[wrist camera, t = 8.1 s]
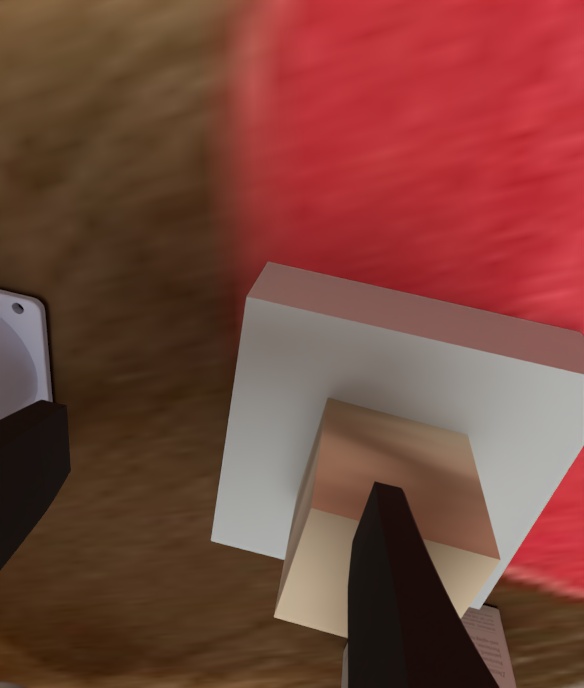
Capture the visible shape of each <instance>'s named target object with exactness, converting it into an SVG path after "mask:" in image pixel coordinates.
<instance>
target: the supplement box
mask: <svg viewBox="0 0 584 688" xmlns="http://www.w3.org/2000/svg"><path fill="white" fill-rule="evenodd" d="M461 621H462V623H463V625H464V627H465V629H466V630H467V632H468V634H469V636H470V638H471V639H472V641H473V643H474V645H475V647H476V648H477V650H478V652H479V654H480V655H481V657H482V659H483V661H484V662H485V664H486V665H487V667H488V669H489V670H490V672H491V674H492V675H493V677H494V679H495V680H496V682H497V684H498V685H499V687H500V688H516V683H515V679H514V675H513V670H512V666H511V661H510V656H509V653H508V648H507V644H506V640H505V636H504V631H503V627H502V623H501V618H500V613H499V610H498V609H496V608H493V607H489V606H485V605H482V606H481V608H480V609H475V608H471V607H468V609H467V610H466V612H465V613H464V615H463V616H462V618H461ZM341 688H348V642H347V645H346V647H345V650H344V653H343V670H342V685H341Z"/></svg>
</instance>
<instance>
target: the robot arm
mask: <svg viewBox="0 0 584 688" xmlns="http://www.w3.org/2000/svg"><path fill="white" fill-rule="evenodd" d="M18 303H19V304H20V305H21V306H22V307H23V309H24V310H23V309H21V308H20V307H19V305H18ZM70 471H71V468H70V452H69V437H68V421H67V406H66V405H62V404H58V403H54V402H53V401H52V388H51V376H50V364H49V352H48V340H47V327H46V315H45V308H44V306H43V304H42V303H41V302H40V301H39V300H38V299H36V298H33V297H29V296H25V295H21V294H17V293H12V292H8V291H4V290H0V570H1V569H2V568H3V566H4V565H5V564H6V562H7V561H8V560H9V559H10V557H11V556H12V555H13V554H14V552H15V551H16V550H17V548H18V547H19V546H20V545H21V543H22V542H23V541H24V539H25V538H26V537H27V536H28V534H29V533H30V532H31V530H32V529H33V528H34V527H35V525H36V524H37V523H38V521H39V520H40V519H41V517H42V516H43V515H44V513H45V512H46V511H47V509H48V508H49V506H50V505H51V503H52V501H53V500H54V498H55V496H56V495H57V493H58V492H59V490H60V488H61V486H62V485H63V483H64V481H65V480H66V478H67V476H68V474H69V473H70ZM348 688H500V687H499V685H498V684H497V682H496V680H495V679H494V677H493V675H492V674H491V672H490V670H489V669H488V667H487V665H486V664H485V662H484V661H483V659H482V657H481V655H480V654H479V652H478V650H477V648H476V647H475V645H474V643H473V641H472V639H471V638H470V636H469V634H468V632H467V630H466V629H465V627H464V625H463V623H462V621H461V619H460V617H459V615H458V613H457V611H456V609H455V608H454V606H453V604H452V602H451V600H450V598H449V596H448V594H447V592H446V590H445V588H444V585H443V583H442V581H441V579H440V577H439V575H438V572H437V570H436V568H435V566H434V564H433V562H432V560H431V557H430V555H429V553H428V550H427V548H426V546H425V544H424V541H423V539H422V536H421V534H420V532H419V529H418V527H417V524H416V522H415V519H414V517H413V514H412V511H411V509H410V506H409V503H408V501H407V498H406V495H405V493H404V491H403V489H402V488H400V487H396V486H392V485H388V484H384V483H380V482H376V481H374V484H373V487H372V490H371V492H370V495H369V498H368V500H367V503H366V506H365V508H364V511H363V514H362V517H361V519H360V522H359V525H358V527H357V530H356V533H355V535H354V538H353V541H352V549H351V558H350V567H349V578H348Z"/></svg>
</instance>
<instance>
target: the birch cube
mask: <svg viewBox="0 0 584 688" xmlns="http://www.w3.org/2000/svg"><path fill="white" fill-rule="evenodd" d="M374 481H376V482H380V483H384V484H388V485H392V486H396V487H400V488H402V489H403V491H404V493H405V495H406V498H407V501H408V503H409V506H410V509H411V511H412V514H413V517H414V519H415V522H416V524H417V527H418V529H419V532H420V534H421V536H422V539H423V541H424V544H425V546H426V548H427V550H428V553H429V555H430V557H431V560H432V562H433V564H434V566H435V568H436V570H437V572H438V575H439V577H440V579H441V581H442V583H443V585H444V588H445V590H446V592H447V594H448V596H449V598H450V600H451V602H452V604H453V606H454V608H455V609H456V611H457V613H458V615H459V617H460V619H461V618H462V616H463V615H464V613H465V612H466V610H467V609H468V607H469V606H470V605H471V603H472V602H473V600H474V599H475V597H476V596H477V594H478V593H479V591H480V590H481V588H482V587H483V586H484V584H485V583H486V581H487V580H488V578H489V577H490V575H491V574H492V572H493V571H494V570H495V568H496V567H497V565H498V564H499V562H500V561H501V559H500V555H499V551H498V547H497V544H496V540H495V536H494V532H493V528H492V525H491V521H490V517H489V513H488V509H487V506H486V502H485V498H484V494H483V491H482V487H481V483H480V479H479V475H478V472H477V468H476V464H475V460H474V456H473V453H472V449H471V445H470V441H469V438H468V435H465V434H461V433H458V432H454V431H450V430H447V429H443V428H439V427H435V426H432V425H428V424H424V423H420V422H417V421H413V420H409V419H406V418H402V417H398V416H394V415H391V414H387V413H383V412H380V411H376V410H372V409H368V408H365V407H361V406H357V405H354V404H350V403H346V402H342V401H339V400H335V399H331V398H327V401H326V404H325V408H324V411H323V414H322V417H321V420H320V424H319V427H318V430H317V433H316V436H315V439H314V443H313V446H312V449H311V452H310V455H309V459H308V462H307V465H306V468H305V471H304V475H303V478H302V481H301V484H300V487H299V490H298V494H297V497H296V502H295V508H294V513H293V518H292V524H291V529H290V534H289V539H288V545H287V550H286V555H285V560H284V566H283V571H282V576H281V581H280V587H279V592H278V597H277V603H276V608H275V613H274V617H275V618H279V619H282V620H286V621H289V622H293V623H296V624H300V625H303V626H307V627H310V628H314V629H318V630H321V631H325V632H328V633H332V634H335V635H339V636H342V637H346V638H348V578H349V567H350V558H351V549H352V541H353V538H354V535H355V533H356V530H357V527H358V525H359V522H360V519H361V517H362V514H363V511H364V508H365V506H366V503H367V500H368V498H369V495H370V492H371V490H372V487H373V484H374Z"/></svg>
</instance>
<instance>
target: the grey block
mask: <svg viewBox="0 0 584 688" xmlns="http://www.w3.org/2000/svg"><path fill="white" fill-rule="evenodd" d="M327 398H331V399H335V400H339V401H342V402H346V403H350V404H354V405H357V406H361V407H365V408H368V409H372V410H376V411H380V412H383V413H387V414H391V415H394V416H398V417H402V418H406V419H409V420H413V421H417V422H420V423H424V424H428V425H432V426H435V427H439V428H443V429H447V430H450V431H454V432H458V433H461V434H465V435H468V438H469V441H470V445H471V449H472V453H473V456H474V460H475V464H476V468H477V472H478V475H479V479H480V483H481V487H482V491H483V494H484V498H485V502H486V506H487V509H488V513H489V517H490V521H491V525H492V528H493V532H494V536H495V540H496V544H497V547H498V551H499V555H500V559H501V561H500V562H499V564H498V565H497V567H496V568H495V570H494V571H493V572H492V574H491V575H490V577H489V578H488V580H487V581H486V583H485V584H484V586H483V587H482V588H481V590H480V591H479V593H478V594H477V596H476V597H475V599H474V600H473V602H472V603H471V605H470V606H469V607H471V608H475V609H480V608H481V606H482V605H483V603H484V602H485V600H486V598H487V597H488V595H489V594H490V592H491V591H492V589H493V587H494V586H495V584H496V583H497V581H498V580H499V578H500V576H501V575H502V573H503V572H504V570H505V569H506V567H507V565H508V564H509V562H510V561H511V559H512V557H513V556H514V554H515V553H516V551H517V550H518V548H519V546H520V545H521V543H522V542H523V540H524V539H525V537H526V535H527V534H528V532H529V531H530V529H531V528H532V526H533V524H534V523H535V521H536V520H537V518H538V517H539V515H540V513H541V512H542V510H543V509H544V507H545V506H546V504H547V502H548V501H549V499H550V498H551V496H552V495H553V493H554V491H555V490H556V488H557V487H558V485H559V484H560V482H561V480H562V479H563V477H564V476H565V474H566V472H567V471H568V469H569V468H570V466H571V465H572V463H573V461H574V460H575V458H576V457H577V455H578V454H579V452H580V450H581V449H582V447H583V446H584V336H583V335H582V334H581V332H578V331H574V330H569V329H565V328H560V327H556V326H552V325H547V324H543V323H538V322H534V321H530V320H525V319H521V318H516V317H512V316H507V315H503V314H499V313H494V312H490V311H485V310H481V309H477V308H472V307H468V306H463V305H459V304H454V303H450V302H446V301H441V300H437V299H432V298H428V297H424V296H419V295H415V294H410V293H406V292H401V291H397V290H393V289H388V288H384V287H379V286H375V285H371V284H366V283H362V282H357V281H353V280H348V279H344V278H340V277H335V276H331V275H326V274H322V273H318V272H313V271H309V270H304V269H300V268H295V267H291V266H287V265H282V264H278V263H273V262H269V261H268V262H267V264H266V265H265V267H264V268H263V270H262V272H261V273H260V275H259V277H258V278H257V280H256V282H255V283H254V285H253V287H252V288H251V290H250V292H249V293H248V295H247V297H246V304H245V311H244V317H243V324H242V331H241V338H240V345H239V352H238V359H237V365H236V372H235V379H234V386H233V393H232V400H231V407H230V414H229V420H228V427H227V434H226V441H225V448H224V455H223V462H222V468H221V475H220V482H219V489H218V496H217V503H216V510H215V516H214V523H213V530H212V537H211V541H213V542H217V543H221V544H225V545H229V546H233V547H237V548H240V549H244V550H248V551H252V552H256V553H260V554H264V555H268V556H272V557H276V558H280V559H283V560H285V555H286V550H287V545H288V539H289V534H290V529H291V524H292V518H293V513H294V508H295V502H296V497H297V494H298V490H299V487H300V484H301V481H302V478H303V475H304V471H305V468H306V465H307V462H308V459H309V455H310V452H311V449H312V446H313V443H314V439H315V436H316V433H317V430H318V427H319V424H320V420H321V417H322V414H323V411H324V408H325V404H326V401H327Z"/></svg>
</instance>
